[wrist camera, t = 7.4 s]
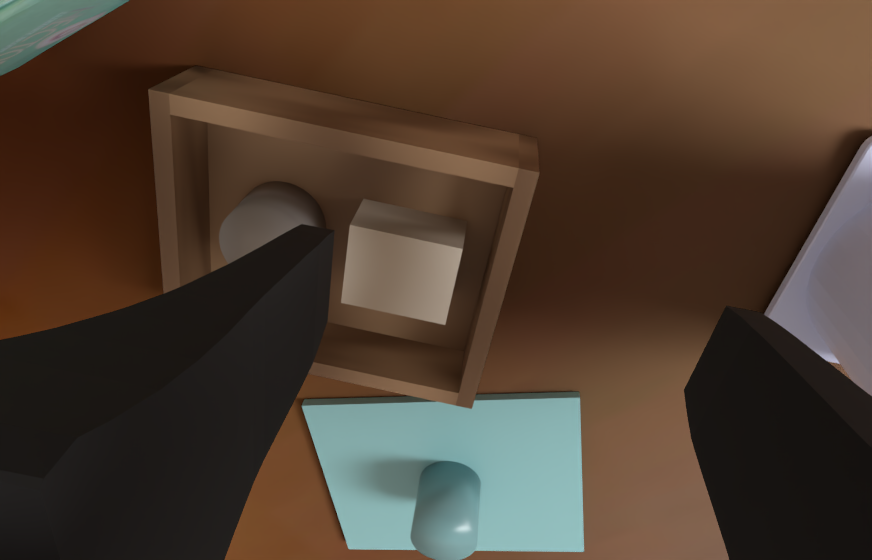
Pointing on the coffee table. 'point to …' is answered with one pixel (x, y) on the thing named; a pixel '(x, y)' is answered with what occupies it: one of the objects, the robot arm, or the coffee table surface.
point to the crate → (350, 217)
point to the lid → (453, 472)
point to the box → (43, 25)
